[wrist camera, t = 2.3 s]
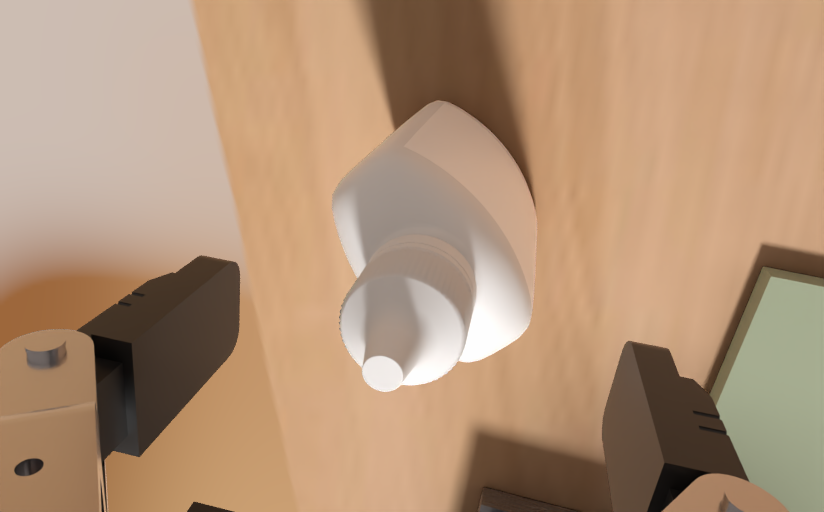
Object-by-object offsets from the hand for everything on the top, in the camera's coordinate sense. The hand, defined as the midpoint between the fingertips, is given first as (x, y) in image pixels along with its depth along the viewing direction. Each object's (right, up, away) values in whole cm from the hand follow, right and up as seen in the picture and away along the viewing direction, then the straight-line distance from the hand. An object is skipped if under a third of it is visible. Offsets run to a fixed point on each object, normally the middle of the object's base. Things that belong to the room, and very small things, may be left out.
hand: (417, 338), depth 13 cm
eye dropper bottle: (+2, +4, +8) cm, 10 cm away
